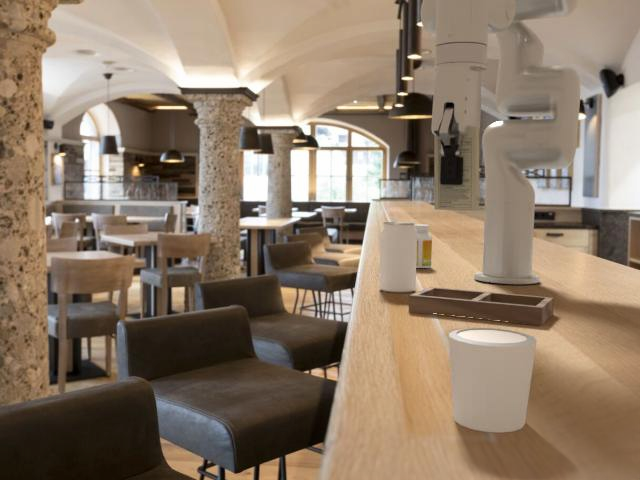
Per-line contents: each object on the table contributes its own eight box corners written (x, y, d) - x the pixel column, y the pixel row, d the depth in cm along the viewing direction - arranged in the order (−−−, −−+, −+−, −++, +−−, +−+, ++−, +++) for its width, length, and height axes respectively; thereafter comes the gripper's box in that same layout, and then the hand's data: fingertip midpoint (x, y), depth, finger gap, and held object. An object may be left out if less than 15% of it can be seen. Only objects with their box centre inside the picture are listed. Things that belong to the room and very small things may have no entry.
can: (414, 294, 122) (416, 224, 121) (376, 292, 123) (378, 223, 122) (416, 288, 128) (418, 222, 127) (381, 287, 129) (382, 221, 128)
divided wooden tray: (429, 302, 113) (430, 286, 113) (553, 314, 105) (553, 297, 105) (408, 312, 105) (409, 295, 104) (541, 325, 96) (542, 307, 96)
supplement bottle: (430, 266, 163) (431, 224, 162) (431, 269, 157) (433, 225, 156) (406, 265, 163) (407, 223, 162) (407, 268, 158) (408, 225, 157)
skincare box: (479, 209, 107) (482, 127, 106) (475, 210, 103) (478, 125, 101) (436, 208, 109) (439, 128, 108) (431, 209, 105) (434, 126, 104)
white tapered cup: (436, 407, 60) (439, 326, 60) (514, 406, 61) (518, 326, 60) (458, 436, 54) (462, 345, 53) (546, 434, 54) (550, 345, 54)
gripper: (452, 69, 113) (449, 184, 114) (416, 52, 98) (413, 184, 99) (499, 67, 109) (495, 185, 111) (470, 48, 94) (465, 185, 96)
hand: (456, 183), depth 105 cm, fingers closed on skincare box, 4 cm apart
